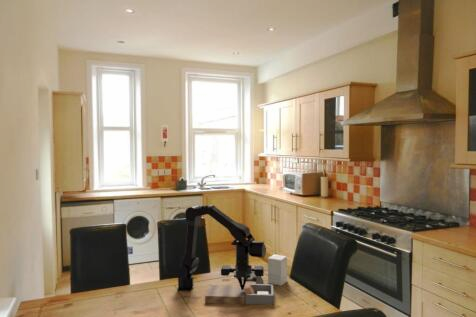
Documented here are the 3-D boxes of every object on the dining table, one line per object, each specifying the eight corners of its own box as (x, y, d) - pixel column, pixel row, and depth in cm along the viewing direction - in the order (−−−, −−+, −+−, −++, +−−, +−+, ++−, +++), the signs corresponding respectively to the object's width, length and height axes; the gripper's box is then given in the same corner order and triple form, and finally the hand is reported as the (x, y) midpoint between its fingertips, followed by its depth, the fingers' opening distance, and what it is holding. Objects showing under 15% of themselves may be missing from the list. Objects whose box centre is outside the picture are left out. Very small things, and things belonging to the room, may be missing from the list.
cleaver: (268, 291, 168) (268, 286, 168) (248, 292, 167) (248, 288, 166) (254, 269, 197) (254, 265, 197) (237, 270, 196) (237, 267, 195)
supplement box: (287, 281, 179) (287, 256, 179) (281, 286, 173) (281, 260, 172) (274, 278, 183) (274, 253, 183) (267, 283, 177) (267, 257, 176)
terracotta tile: (244, 290, 158) (249, 287, 158) (244, 285, 163) (249, 283, 163) (249, 300, 158) (254, 297, 158) (250, 295, 163) (254, 293, 163)
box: (245, 303, 154) (245, 294, 154) (247, 292, 166) (246, 283, 166) (273, 304, 153) (273, 295, 153) (273, 292, 165) (273, 284, 165)
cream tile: (268, 296, 157) (268, 301, 157) (268, 291, 162) (268, 296, 162) (257, 296, 157) (257, 301, 157) (257, 291, 162) (257, 296, 162)
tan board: (205, 302, 156) (205, 295, 156) (209, 291, 168) (209, 284, 167) (244, 303, 154) (244, 297, 154) (245, 292, 166) (245, 285, 166)
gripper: (219, 260, 152) (219, 297, 153) (263, 261, 151) (263, 298, 151) (222, 252, 163) (222, 286, 164) (263, 253, 162) (263, 287, 163)
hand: (242, 289), depth 160 cm, fingers closed
